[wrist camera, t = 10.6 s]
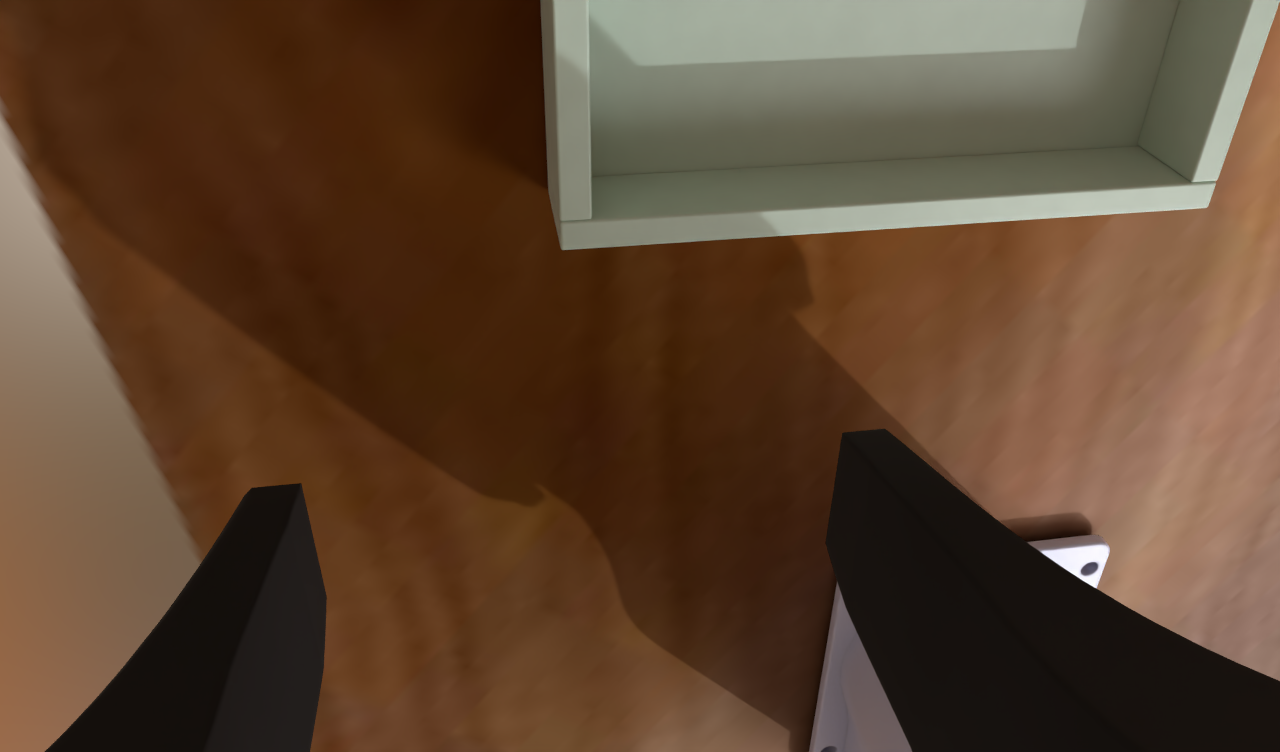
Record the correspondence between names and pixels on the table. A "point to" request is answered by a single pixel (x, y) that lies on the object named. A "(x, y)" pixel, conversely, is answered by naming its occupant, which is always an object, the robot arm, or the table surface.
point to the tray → (884, 112)
